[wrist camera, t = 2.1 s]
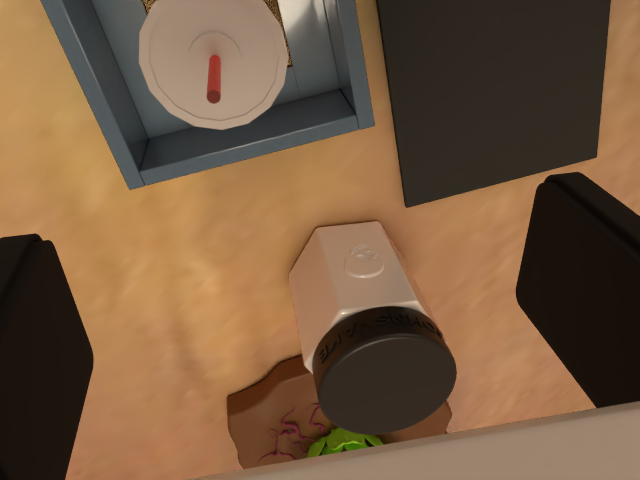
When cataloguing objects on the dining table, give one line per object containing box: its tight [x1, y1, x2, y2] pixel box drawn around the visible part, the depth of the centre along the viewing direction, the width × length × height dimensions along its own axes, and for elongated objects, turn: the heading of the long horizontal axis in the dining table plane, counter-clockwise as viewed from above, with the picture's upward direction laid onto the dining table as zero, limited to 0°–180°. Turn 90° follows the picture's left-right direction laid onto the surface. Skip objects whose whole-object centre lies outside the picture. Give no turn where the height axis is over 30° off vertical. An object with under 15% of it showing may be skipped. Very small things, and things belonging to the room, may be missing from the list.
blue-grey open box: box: [40, 0, 375, 190], centre depth 28 cm, size 14×13×5 cm
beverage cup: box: [139, 0, 288, 130], centre depth 24 cm, size 6×6×14 cm
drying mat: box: [376, 0, 611, 208], centre depth 33 cm, size 14×20×1 cm
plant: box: [227, 356, 452, 469], centre depth 45 cm, size 20×20×11 cm
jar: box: [288, 221, 457, 435], centre depth 35 cm, size 9×8×12 cm
